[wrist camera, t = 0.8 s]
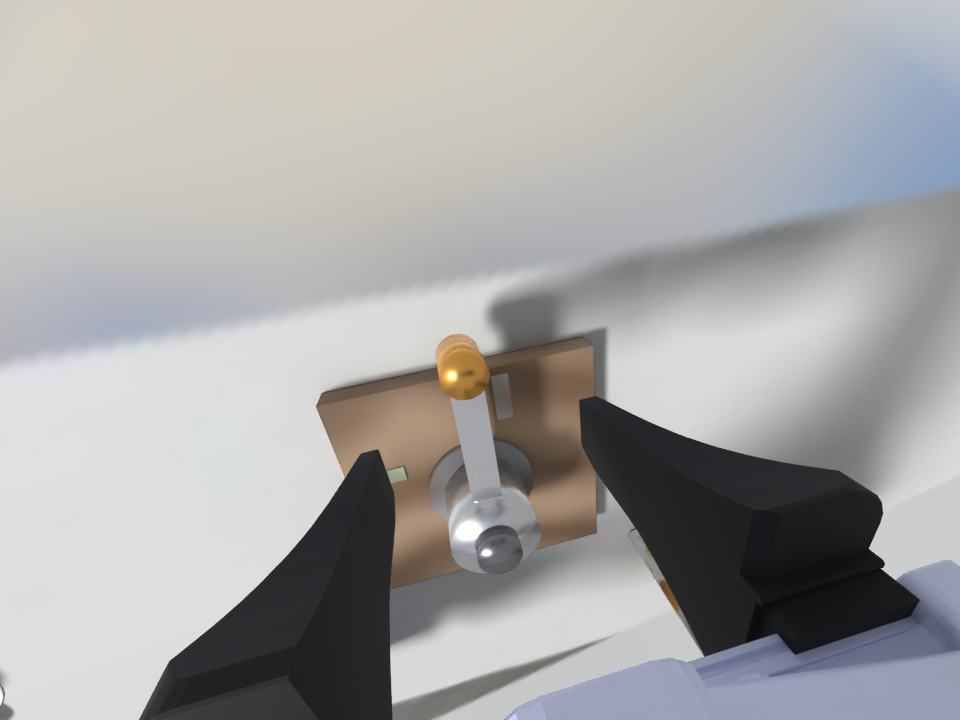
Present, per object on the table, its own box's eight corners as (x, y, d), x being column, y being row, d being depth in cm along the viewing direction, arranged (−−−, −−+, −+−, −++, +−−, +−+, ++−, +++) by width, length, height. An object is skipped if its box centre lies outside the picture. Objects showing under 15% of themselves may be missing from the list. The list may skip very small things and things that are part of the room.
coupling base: (587, 517, 30) (600, 539, 28) (391, 570, 28) (390, 597, 26) (582, 336, 23) (598, 349, 21) (321, 393, 21) (313, 412, 19)
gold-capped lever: (525, 509, 25) (550, 575, 20) (452, 527, 24) (461, 600, 20) (499, 319, 19) (527, 356, 14) (402, 339, 18) (401, 383, 14)
